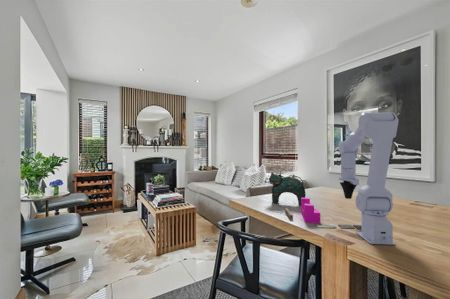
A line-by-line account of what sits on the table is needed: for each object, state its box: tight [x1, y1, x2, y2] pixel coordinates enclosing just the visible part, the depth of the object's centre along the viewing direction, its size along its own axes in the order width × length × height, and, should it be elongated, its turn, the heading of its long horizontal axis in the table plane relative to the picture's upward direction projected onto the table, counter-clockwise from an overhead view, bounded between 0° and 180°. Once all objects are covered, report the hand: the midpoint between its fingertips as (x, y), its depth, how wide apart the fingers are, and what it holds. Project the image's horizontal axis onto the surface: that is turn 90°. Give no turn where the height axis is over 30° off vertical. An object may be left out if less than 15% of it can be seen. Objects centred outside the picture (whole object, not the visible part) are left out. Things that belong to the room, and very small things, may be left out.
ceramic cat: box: [268, 168, 306, 207], centre depth 126 cm, size 20×6×20 cm, turn 67°
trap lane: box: [284, 207, 362, 230], centre depth 98 cm, size 21×29×2 cm
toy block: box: [300, 197, 321, 224], centre depth 101 cm, size 15×6×8 cm, turn 166°
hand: (348, 198), depth 99 cm, fingers closed
